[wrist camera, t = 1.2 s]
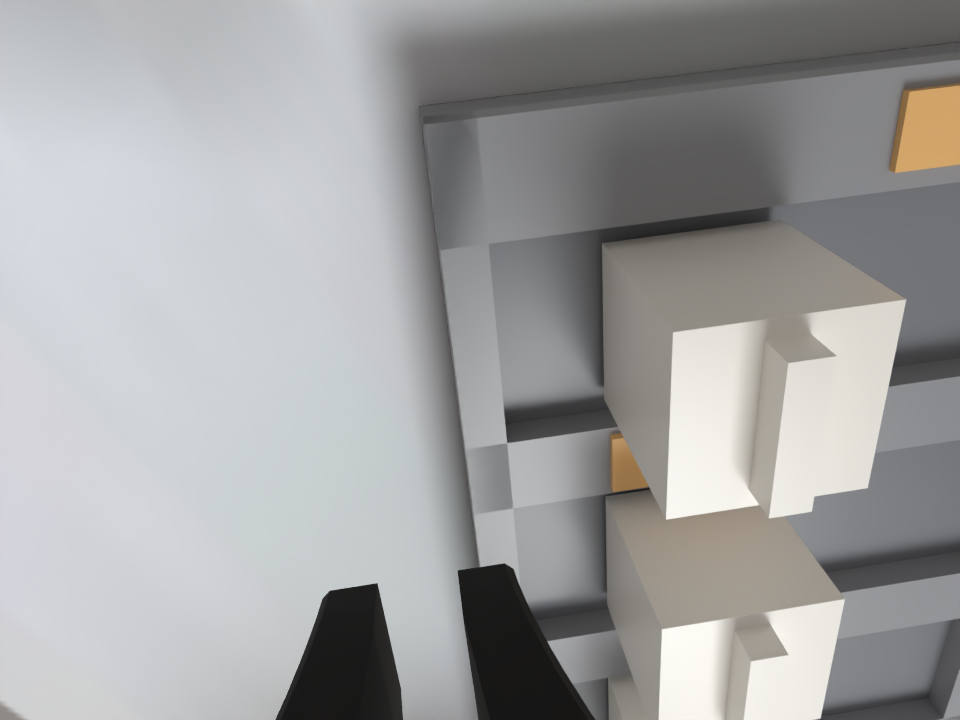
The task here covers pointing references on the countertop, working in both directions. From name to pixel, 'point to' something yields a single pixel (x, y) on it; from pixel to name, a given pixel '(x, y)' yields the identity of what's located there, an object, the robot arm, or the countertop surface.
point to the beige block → (719, 612)
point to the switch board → (690, 207)
